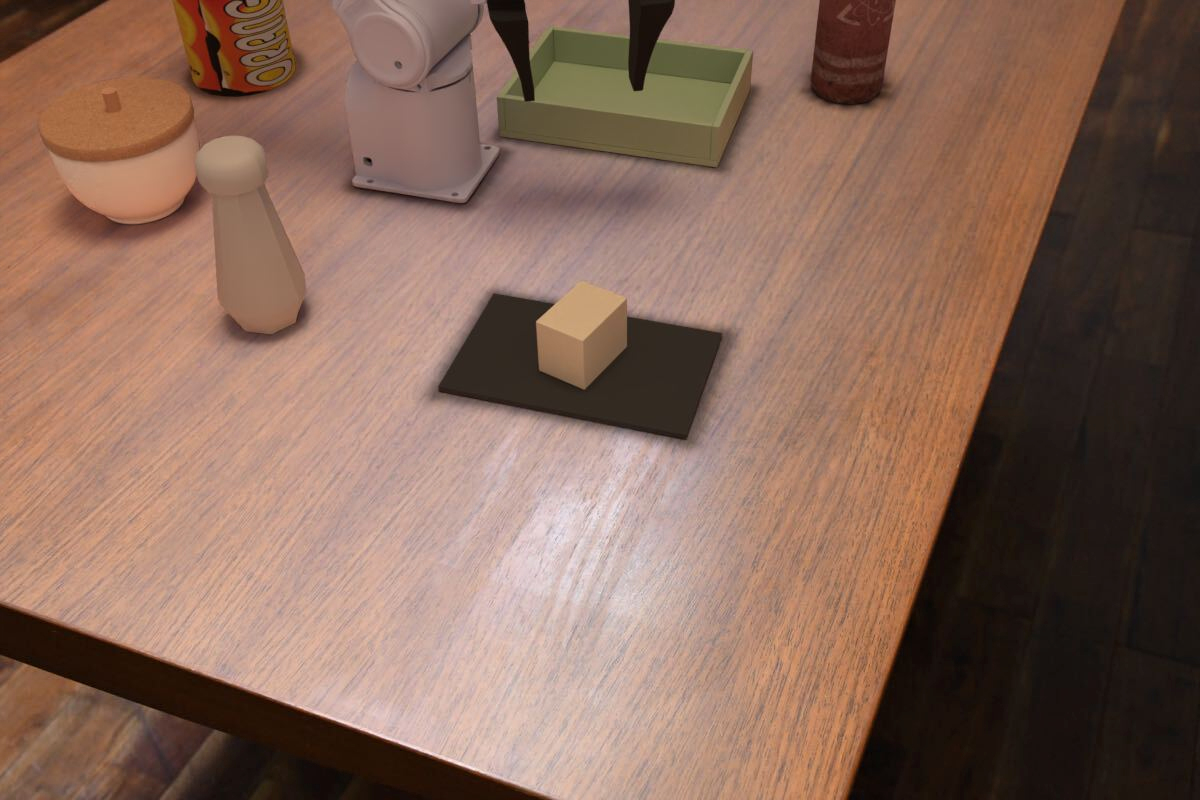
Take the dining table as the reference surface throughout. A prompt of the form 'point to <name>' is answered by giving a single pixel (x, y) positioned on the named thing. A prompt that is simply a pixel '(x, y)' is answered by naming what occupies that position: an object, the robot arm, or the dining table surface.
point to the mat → (617, 396)
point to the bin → (628, 97)
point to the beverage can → (236, 44)
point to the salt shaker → (249, 237)
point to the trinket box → (124, 146)
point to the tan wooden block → (582, 334)
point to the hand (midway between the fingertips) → (582, 89)
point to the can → (851, 49)
